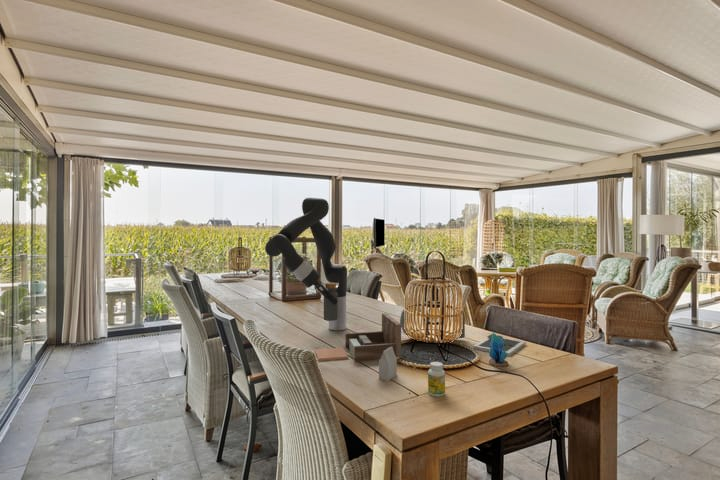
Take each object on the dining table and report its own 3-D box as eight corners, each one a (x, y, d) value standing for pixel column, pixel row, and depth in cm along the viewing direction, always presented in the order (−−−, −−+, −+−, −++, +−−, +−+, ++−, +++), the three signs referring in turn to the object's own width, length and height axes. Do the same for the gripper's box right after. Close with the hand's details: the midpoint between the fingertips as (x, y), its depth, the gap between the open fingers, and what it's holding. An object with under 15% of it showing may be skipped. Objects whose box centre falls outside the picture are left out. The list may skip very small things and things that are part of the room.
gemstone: (485, 364, 153) (485, 334, 153) (492, 358, 160) (493, 329, 160) (504, 369, 149) (505, 337, 148) (511, 362, 156) (512, 332, 155)
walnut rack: (345, 346, 177) (345, 315, 176) (386, 343, 181) (386, 313, 181) (355, 362, 156) (355, 326, 156) (401, 358, 161) (401, 324, 160)
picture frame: (491, 339, 189) (473, 350, 173) (491, 334, 189) (473, 343, 173) (525, 346, 179) (509, 358, 163) (525, 340, 179) (509, 351, 163)
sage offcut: (349, 349, 174) (349, 339, 173) (356, 348, 174) (356, 338, 174) (355, 359, 160) (355, 348, 160) (362, 359, 161) (362, 348, 160)
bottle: (332, 321, 160) (332, 284, 160) (320, 319, 163) (320, 283, 163) (340, 318, 165) (340, 282, 165) (329, 317, 168) (329, 281, 168)
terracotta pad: (315, 351, 169) (315, 349, 169) (342, 349, 172) (342, 347, 172) (318, 361, 157) (318, 358, 157) (348, 358, 160) (348, 356, 160)
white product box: (396, 374, 143) (396, 347, 143) (388, 381, 137) (388, 352, 137) (387, 372, 145) (387, 345, 145) (378, 379, 139) (378, 350, 139)
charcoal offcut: (358, 349, 174) (358, 335, 173) (365, 348, 174) (365, 335, 174) (364, 357, 162) (364, 343, 162) (371, 357, 162) (371, 342, 162)
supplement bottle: (448, 393, 127) (448, 363, 127) (438, 398, 123) (439, 368, 123) (434, 388, 131) (434, 359, 130) (424, 393, 127) (424, 363, 127)
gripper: (314, 269, 155) (344, 298, 158) (310, 265, 169) (338, 292, 172) (301, 282, 154) (331, 312, 157) (298, 278, 168) (326, 305, 171)
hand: (334, 301), depth 164 cm, fingers closed on bottle, 5 cm apart
